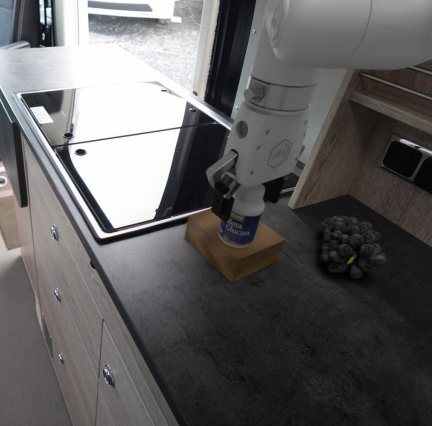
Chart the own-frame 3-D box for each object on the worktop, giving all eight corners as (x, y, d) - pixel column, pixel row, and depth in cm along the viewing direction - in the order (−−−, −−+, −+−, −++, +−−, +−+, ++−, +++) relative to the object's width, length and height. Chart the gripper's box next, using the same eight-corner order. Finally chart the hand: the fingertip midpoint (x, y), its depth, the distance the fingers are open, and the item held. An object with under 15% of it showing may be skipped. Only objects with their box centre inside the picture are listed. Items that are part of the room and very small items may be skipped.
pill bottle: (217, 246, 57) (231, 193, 51) (217, 225, 61) (230, 174, 56) (253, 252, 56) (272, 199, 50) (251, 230, 60) (268, 179, 55)
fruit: (337, 185, 65) (354, 236, 53) (381, 206, 64) (407, 263, 53) (304, 219, 70) (313, 273, 58) (344, 239, 70) (361, 298, 58)
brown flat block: (291, 255, 63) (301, 232, 60) (231, 282, 58) (239, 258, 55) (234, 212, 73) (240, 190, 70) (178, 232, 67) (182, 209, 64)
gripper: (249, 115, 39) (216, 239, 49) (351, 92, 46) (304, 205, 56) (202, 92, 44) (182, 209, 54) (300, 75, 51) (266, 181, 61)
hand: (244, 207), depth 55 cm, fingers open, 9 cm apart
